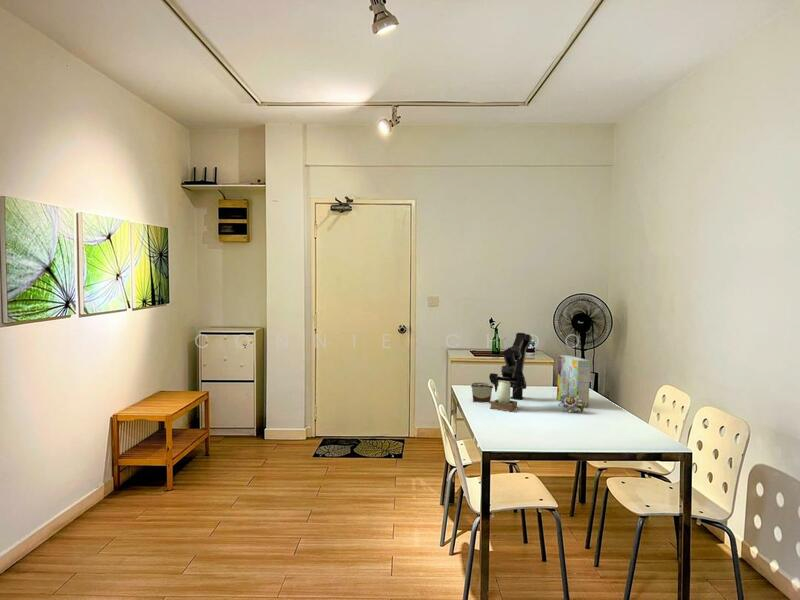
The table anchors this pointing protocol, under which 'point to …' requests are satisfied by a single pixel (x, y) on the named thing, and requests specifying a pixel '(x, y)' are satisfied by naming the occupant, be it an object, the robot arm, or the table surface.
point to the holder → (504, 405)
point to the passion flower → (571, 402)
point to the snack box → (574, 378)
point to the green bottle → (504, 392)
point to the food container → (481, 392)
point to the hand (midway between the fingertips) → (504, 392)
